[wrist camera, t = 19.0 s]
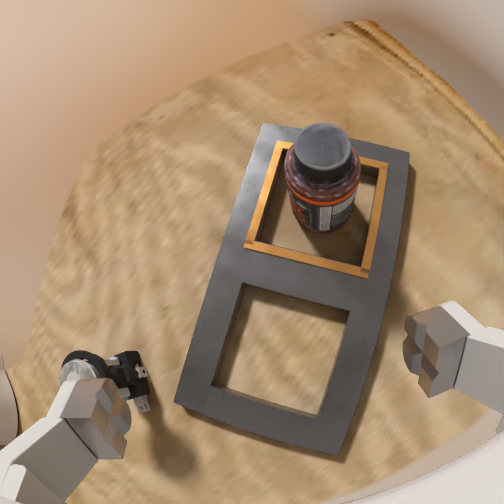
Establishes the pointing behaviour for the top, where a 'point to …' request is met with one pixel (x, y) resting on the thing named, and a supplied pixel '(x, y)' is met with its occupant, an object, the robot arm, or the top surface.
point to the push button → (110, 373)
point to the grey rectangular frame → (297, 286)
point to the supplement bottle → (322, 177)
